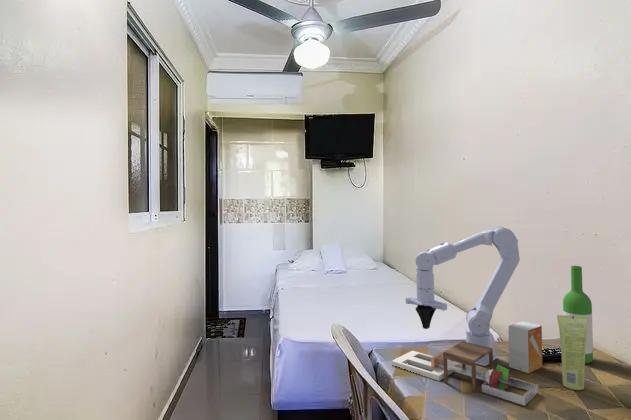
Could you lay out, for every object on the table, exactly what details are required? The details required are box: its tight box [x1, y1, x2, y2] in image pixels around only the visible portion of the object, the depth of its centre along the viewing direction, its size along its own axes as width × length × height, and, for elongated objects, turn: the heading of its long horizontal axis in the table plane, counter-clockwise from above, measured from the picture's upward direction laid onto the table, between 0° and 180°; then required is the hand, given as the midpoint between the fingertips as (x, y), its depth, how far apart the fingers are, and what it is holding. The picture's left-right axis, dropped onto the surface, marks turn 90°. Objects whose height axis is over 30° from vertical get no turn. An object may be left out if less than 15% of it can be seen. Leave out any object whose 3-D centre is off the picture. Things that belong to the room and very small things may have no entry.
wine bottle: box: [562, 265, 594, 365], centre depth 126 cm, size 8×8×30 cm
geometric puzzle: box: [484, 364, 515, 392], centre depth 107 cm, size 7×7×8 cm
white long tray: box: [431, 352, 539, 406], centre depth 111 cm, size 10×27×4 cm, turn 44°
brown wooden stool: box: [442, 340, 494, 394], centre depth 114 cm, size 12×9×9 cm
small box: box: [507, 320, 543, 374], centre depth 122 cm, size 8×6×13 cm
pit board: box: [391, 350, 460, 382], centre depth 124 cm, size 12×16×2 cm
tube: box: [556, 314, 588, 391], centre depth 108 cm, size 6×5×20 cm
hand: (426, 328), depth 133 cm, fingers closed
